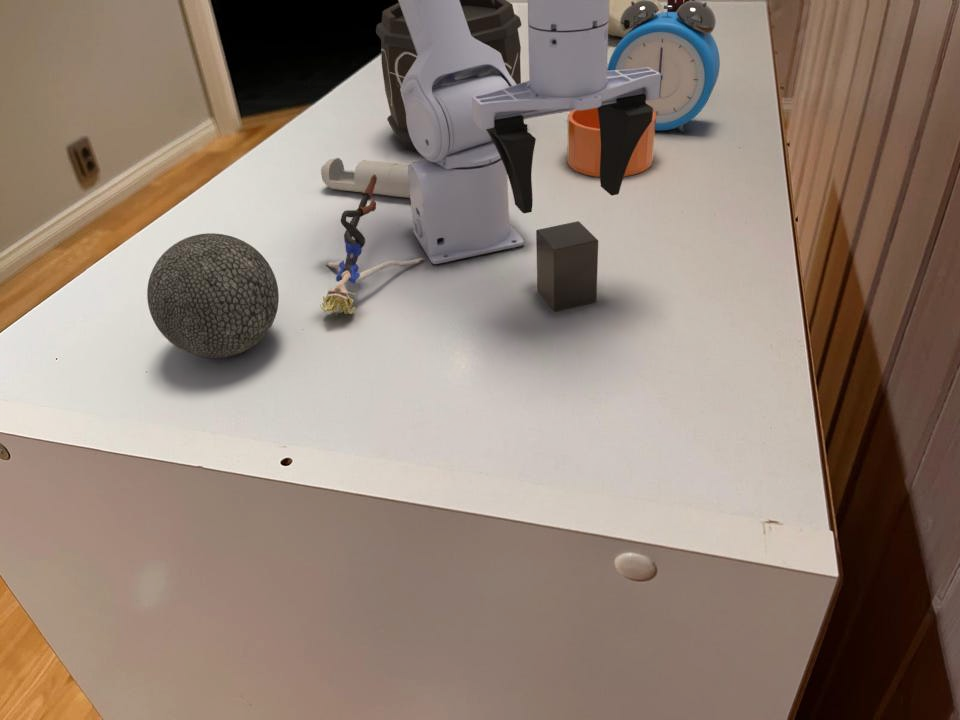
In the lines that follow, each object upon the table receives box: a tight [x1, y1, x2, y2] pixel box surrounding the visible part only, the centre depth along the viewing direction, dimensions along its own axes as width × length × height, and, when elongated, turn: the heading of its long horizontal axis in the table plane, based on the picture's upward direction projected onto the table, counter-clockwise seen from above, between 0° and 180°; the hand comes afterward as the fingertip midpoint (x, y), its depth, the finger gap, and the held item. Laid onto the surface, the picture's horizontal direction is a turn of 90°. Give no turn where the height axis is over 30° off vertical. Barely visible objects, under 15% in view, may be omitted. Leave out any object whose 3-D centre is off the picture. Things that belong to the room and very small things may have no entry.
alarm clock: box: [607, 0, 721, 133], centre depth 97 cm, size 13×6×15 cm, turn 69°
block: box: [535, 220, 599, 312], centre depth 67 cm, size 4×4×6 cm
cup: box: [566, 108, 656, 178], centre depth 91 cm, size 10×10×6 cm
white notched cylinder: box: [320, 157, 410, 199], centre depth 87 cm, size 18×5×7 cm, turn 69°
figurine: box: [301, 174, 425, 331], centre depth 72 cm, size 10×9×20 cm
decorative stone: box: [608, 0, 665, 39], centre depth 138 cm, size 23×9×15 cm
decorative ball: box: [146, 232, 280, 359], centre depth 62 cm, size 10×10×10 cm
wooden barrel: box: [375, 0, 522, 153], centre depth 98 cm, size 18×18×16 cm
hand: (567, 199), depth 63 cm, fingers open, 7 cm apart
